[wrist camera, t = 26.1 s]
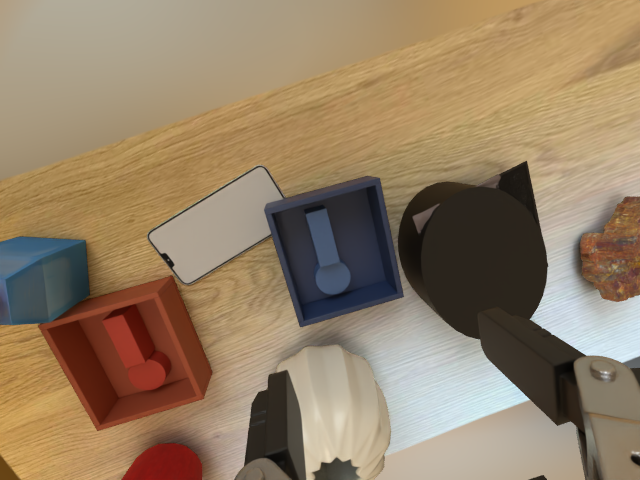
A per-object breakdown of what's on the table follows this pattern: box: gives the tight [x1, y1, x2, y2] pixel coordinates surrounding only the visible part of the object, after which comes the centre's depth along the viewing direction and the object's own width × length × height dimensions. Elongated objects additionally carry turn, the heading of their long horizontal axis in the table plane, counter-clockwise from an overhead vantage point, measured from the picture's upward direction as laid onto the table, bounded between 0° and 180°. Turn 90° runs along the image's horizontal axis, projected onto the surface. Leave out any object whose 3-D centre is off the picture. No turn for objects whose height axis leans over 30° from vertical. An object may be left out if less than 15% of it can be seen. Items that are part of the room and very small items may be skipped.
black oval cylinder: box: [398, 161, 548, 339], centre depth 35 cm, size 14×18×8 cm
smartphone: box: [147, 165, 286, 285], centre depth 35 cm, size 7×1×15 cm
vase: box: [266, 345, 391, 480], centre depth 34 cm, size 14×14×13 cm
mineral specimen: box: [580, 196, 640, 302], centre depth 38 cm, size 12×8×7 cm
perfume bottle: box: [0, 237, 90, 325], centre depth 28 cm, size 6×6×12 cm
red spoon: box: [102, 304, 171, 390], centre depth 35 cm, size 10×4×3 cm, turn 15°
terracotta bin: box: [38, 276, 212, 431], centre depth 34 cm, size 13×12×4 cm
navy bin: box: [264, 176, 404, 327], centre depth 34 cm, size 13×12×4 cm
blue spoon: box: [304, 205, 351, 295], centre depth 35 cm, size 10×4×3 cm, turn 15°
